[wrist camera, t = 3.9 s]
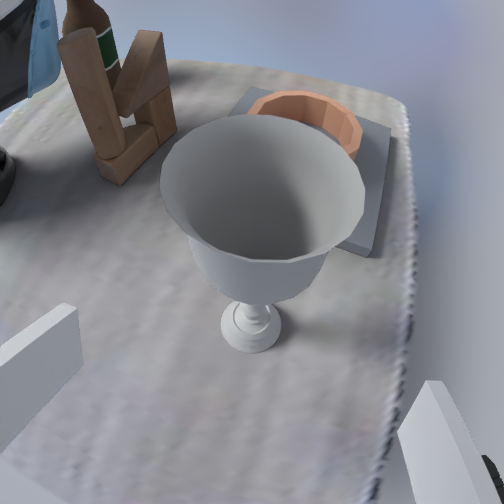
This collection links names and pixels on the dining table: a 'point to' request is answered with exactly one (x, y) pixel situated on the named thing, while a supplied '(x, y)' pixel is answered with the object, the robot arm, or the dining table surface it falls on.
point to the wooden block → (120, 100)
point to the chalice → (260, 213)
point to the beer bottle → (92, 15)
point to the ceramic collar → (314, 115)
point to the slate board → (369, 165)
